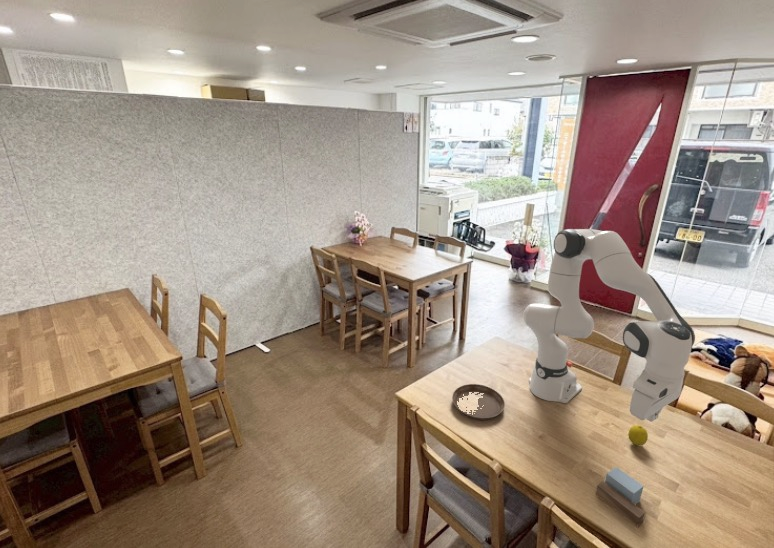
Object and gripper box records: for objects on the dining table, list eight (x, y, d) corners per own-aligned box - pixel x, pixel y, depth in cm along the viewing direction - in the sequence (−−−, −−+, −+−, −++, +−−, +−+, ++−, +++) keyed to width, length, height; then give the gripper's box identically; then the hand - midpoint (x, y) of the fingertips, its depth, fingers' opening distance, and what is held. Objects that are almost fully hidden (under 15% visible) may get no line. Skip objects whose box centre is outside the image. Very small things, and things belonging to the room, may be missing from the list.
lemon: (642, 440, 134) (647, 422, 131) (647, 452, 129) (651, 433, 126) (624, 437, 136) (629, 419, 133) (628, 448, 131) (632, 429, 128)
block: (612, 481, 118) (616, 466, 116) (639, 501, 112) (643, 486, 110) (603, 488, 116) (606, 473, 114) (629, 509, 109) (633, 493, 107)
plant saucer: (515, 415, 148) (516, 408, 147) (470, 430, 141) (470, 422, 140) (483, 385, 166) (484, 379, 165) (442, 397, 159) (443, 391, 158)
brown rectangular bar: (601, 489, 116) (603, 481, 114) (642, 521, 106) (645, 512, 104) (595, 494, 114) (597, 485, 113) (636, 527, 104) (639, 517, 103)
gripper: (669, 362, 112) (659, 400, 117) (629, 384, 103) (620, 425, 108) (693, 372, 107) (682, 412, 112) (654, 397, 98) (643, 439, 103)
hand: (651, 418), depth 110 cm, fingers closed
